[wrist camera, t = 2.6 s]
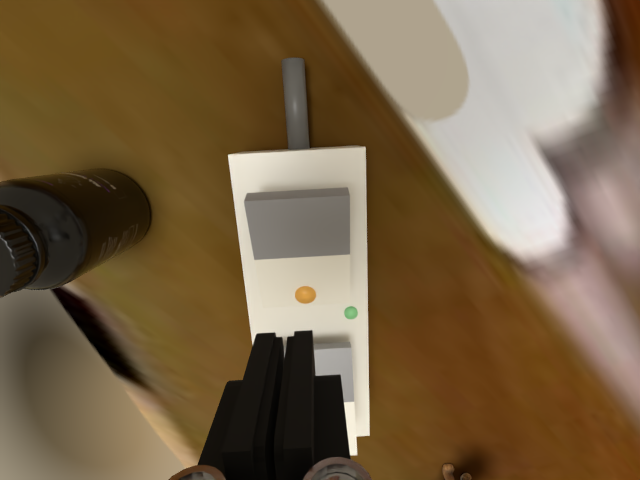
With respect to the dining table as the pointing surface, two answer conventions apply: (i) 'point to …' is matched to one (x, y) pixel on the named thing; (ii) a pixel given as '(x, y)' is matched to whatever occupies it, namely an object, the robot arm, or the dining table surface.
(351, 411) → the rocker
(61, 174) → the supplement bottle
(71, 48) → the dining table surface
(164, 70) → the dining table surface
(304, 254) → the rocker
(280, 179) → the strip
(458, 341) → the dining table surface
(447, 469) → the lion figurine
